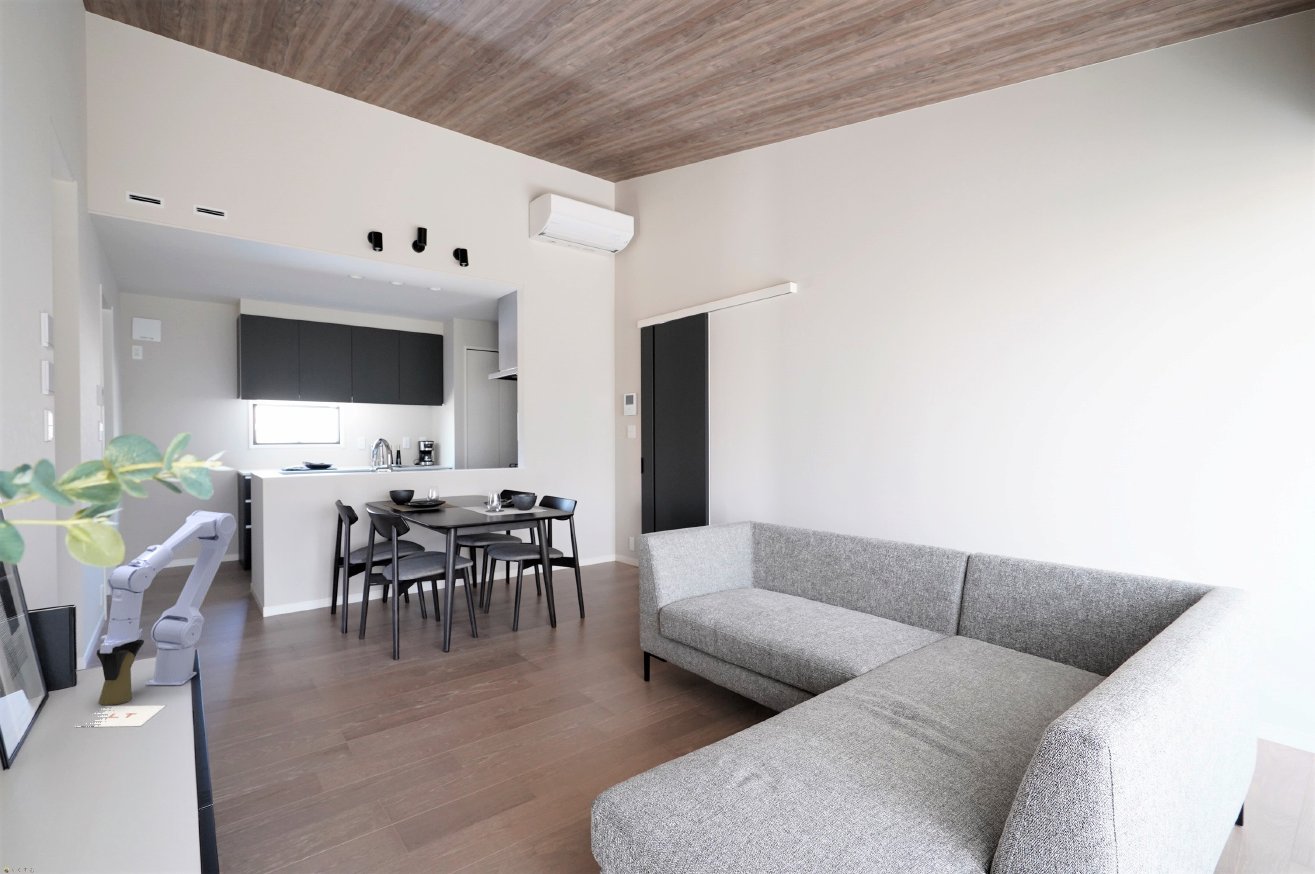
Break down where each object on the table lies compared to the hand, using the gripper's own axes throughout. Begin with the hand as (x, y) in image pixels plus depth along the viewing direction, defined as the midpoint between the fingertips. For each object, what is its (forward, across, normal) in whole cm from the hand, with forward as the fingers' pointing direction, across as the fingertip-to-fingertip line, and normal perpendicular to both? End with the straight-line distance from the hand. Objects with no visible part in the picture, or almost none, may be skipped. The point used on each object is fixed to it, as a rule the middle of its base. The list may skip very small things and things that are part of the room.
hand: (117, 675), depth 154 cm
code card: (+6, +10, +6) cm, 13 cm away
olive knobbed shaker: (+6, 0, 0) cm, 6 cm away
